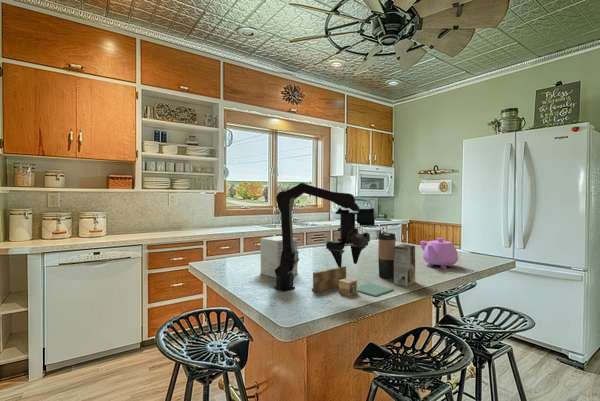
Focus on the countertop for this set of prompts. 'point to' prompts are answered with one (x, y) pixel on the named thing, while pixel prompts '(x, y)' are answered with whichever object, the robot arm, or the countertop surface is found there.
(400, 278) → the coffee box
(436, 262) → the teapot
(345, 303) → the countertop surface
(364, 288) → the mat
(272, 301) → the countertop surface
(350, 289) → the letter block
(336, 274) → the screen
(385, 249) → the travel mug
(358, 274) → the countertop surface
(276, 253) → the supplement box
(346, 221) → the robot arm
